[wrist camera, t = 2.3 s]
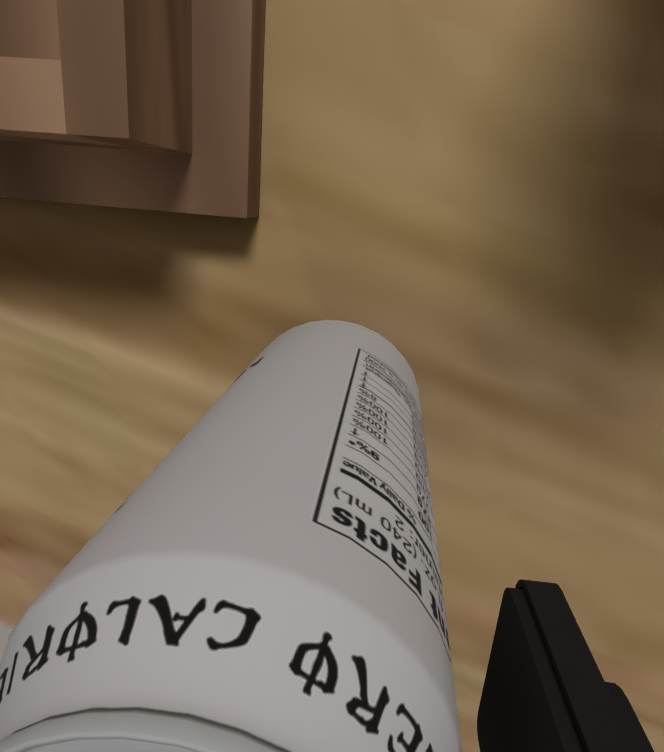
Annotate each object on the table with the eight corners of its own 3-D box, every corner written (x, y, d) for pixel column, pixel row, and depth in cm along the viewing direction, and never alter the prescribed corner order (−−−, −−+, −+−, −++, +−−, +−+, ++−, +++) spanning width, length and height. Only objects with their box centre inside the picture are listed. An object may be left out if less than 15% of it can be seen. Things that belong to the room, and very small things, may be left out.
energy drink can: (245, 316, 19) (-215, 660, 5) (418, 311, 18) (499, 699, 4) (261, 470, 21) (-36, 1056, 6) (419, 471, 20) (477, 1135, 6)
